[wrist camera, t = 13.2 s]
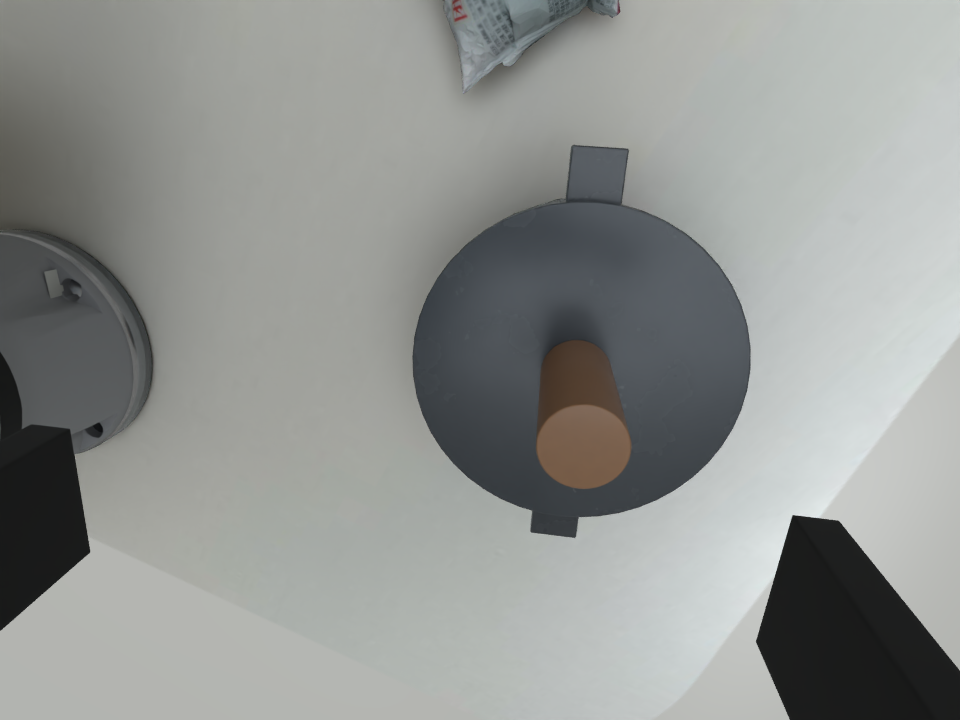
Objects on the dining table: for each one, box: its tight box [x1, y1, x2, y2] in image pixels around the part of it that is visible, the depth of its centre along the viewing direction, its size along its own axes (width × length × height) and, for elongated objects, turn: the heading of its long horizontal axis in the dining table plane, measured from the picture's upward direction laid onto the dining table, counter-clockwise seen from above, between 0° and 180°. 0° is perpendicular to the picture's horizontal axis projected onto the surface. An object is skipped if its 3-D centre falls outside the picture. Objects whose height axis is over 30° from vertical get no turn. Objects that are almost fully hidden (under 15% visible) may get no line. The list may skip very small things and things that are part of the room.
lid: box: [413, 201, 750, 517], centre depth 24 cm, size 15×15×9 cm
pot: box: [511, 145, 629, 538], centre depth 32 cm, size 14×19×9 cm
